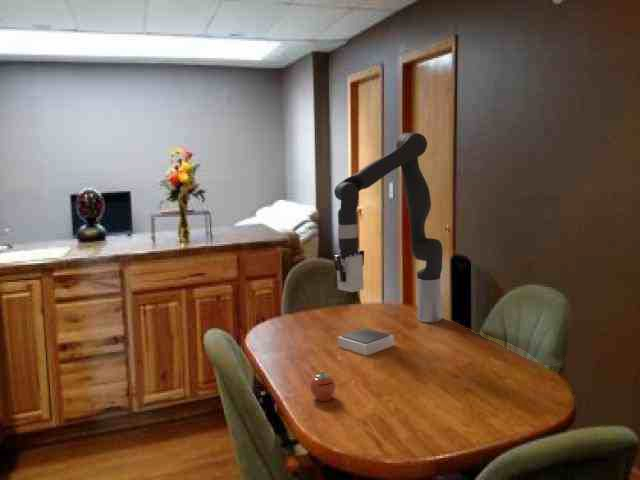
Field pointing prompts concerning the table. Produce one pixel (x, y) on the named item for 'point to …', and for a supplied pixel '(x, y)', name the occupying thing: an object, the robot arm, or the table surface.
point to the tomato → (322, 387)
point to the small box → (352, 274)
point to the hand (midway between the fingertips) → (350, 279)
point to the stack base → (365, 341)
